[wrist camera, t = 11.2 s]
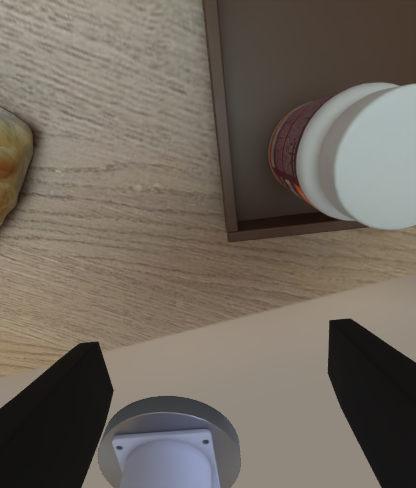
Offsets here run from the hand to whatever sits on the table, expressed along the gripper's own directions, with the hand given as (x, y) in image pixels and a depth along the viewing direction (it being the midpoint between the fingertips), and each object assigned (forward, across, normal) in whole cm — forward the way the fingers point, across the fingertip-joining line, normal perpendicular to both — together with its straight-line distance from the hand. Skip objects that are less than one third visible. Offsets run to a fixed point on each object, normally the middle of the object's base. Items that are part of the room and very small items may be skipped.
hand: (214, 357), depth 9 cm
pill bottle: (+10, -6, -5) cm, 13 cm away
